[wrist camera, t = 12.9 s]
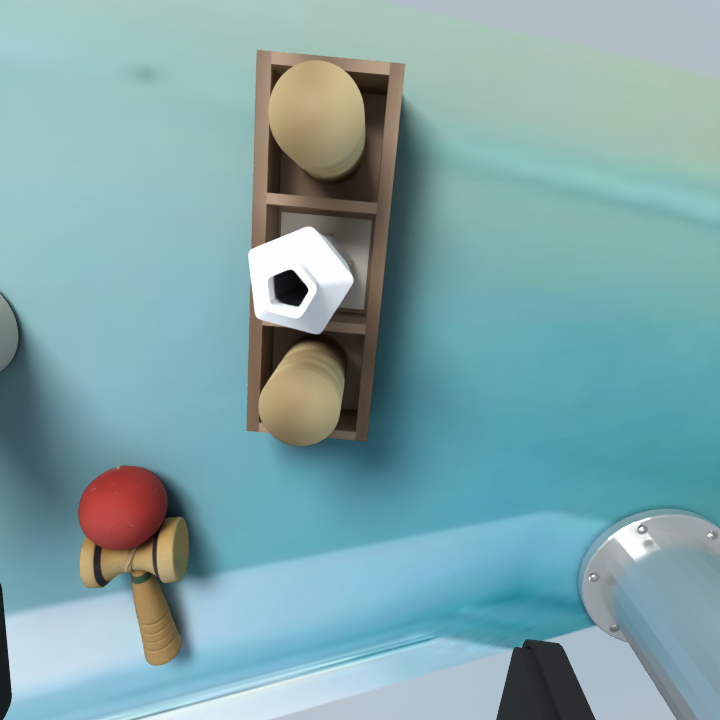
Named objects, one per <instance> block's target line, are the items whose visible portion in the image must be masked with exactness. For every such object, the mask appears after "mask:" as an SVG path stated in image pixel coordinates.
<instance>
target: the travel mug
mask: <svg viewBox="0 0 720 720" xmlns="http://www.w3.org/2000/svg"><path fill="white" fill-rule="evenodd" d="M17 345H18V327H17V323H16V319H15V316H14V314H13V312H12V310H11V308H10V306H9V305H8V303H7V301H6V300H5V299H4V298H3V296H2V295H1V294H0V371H1V370H3V369H4V368H5V367H6V366H7V365H8V364H9V363H10V362H11V360H12V359H13V357H14V355H15V352H16V349H17Z"/></svg>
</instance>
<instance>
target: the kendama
mask: <svg viewBox="0 0 720 720" xmlns="http://www.w3.org/2000/svg"><path fill="white" fill-rule="evenodd" d="M167 506H168V498H167V493H166V490H165V487H164V485H163V483H162V482H161V480H160V479H159V478H158V477H157V476H156V475H155V474H154V473H152V472H151V471H149V470H147V469H145V468H142V467H137V466H127V465H121V466H119V467H117V468H114V469H111V470H108V471H106V472H104V473H103V474H101V475H100V476H98V477H97V478H96V479H94V480H93V481H92V482H91V483H90V484H89V485H88V487H87V488H86V489H85V491H84V493H83V495H82V497H81V500H80V504H79V510H78V516H79V523H80V526H81V528H82V530H83V532H84V534H85V535H86V537H85V539H84V541H83V544H82V548H81V552H80V559H79V570H80V576H81V580H82V582H83V584H84V585H85V586H86V587H87V588H100V587H101V588H102V587H104V586H105V585H107V584H108V583H109V582H110V581H111V580H112V579H113V578H114V577H116V576H117V575H119V574H121V573H124V572H125V573H130V572H131V577H132V587H133V597H134V604H135V609H136V614H137V618H138V623H139V627H140V632H141V636H142V641H143V647H144V653H145V658H146V660H147V662H148V663H149V664H151V665H163V664H165V663H167V662H169V661H170V660H172V659H173V658H174V657H175V656H176V655H177V653H178V652H179V650H180V648H181V645H182V640H181V637H180V635H179V632H178V630H177V628H176V625H175V623H174V620H173V618H172V615H171V613H170V610H169V607H168V605H167V602H166V599H165V596H164V594H163V591H162V589H161V587H160V585H159V583H158V581H157V579H156V577H155V575H156V576H157V577H158V578H159V579H160V580H161V581H162V582H163V583H171V582H177V581H181V580H182V578H183V577H184V575H185V572H186V569H187V564H188V557H189V536H188V528H187V524H186V522H185V520H184V518H182V517H169V518H166V519H165V520H164V518H165V515H166V512H167Z"/></svg>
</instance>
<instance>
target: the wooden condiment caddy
mask: <svg viewBox="0 0 720 720" xmlns="http://www.w3.org/2000/svg"><path fill="white" fill-rule="evenodd" d="M404 71H405V64H401V63H391V62H380V61H369V60H359V59H348V58H337V57H327V56H316V55H305V54H295V53H284V52H273V51H263V50H257V62H256V99H255V136H254V174H253V211H252V248H251V250H252V249H253V248H256V247H258V246H261V245H263V244H265V243H268V242H270V241H273V240H275V239H278V238H280V237H283V236H285V235H288V234H290V233H293V232H295V231H297V230H300V229H302V228H305V227H312V228H314V229H315V230H316V231H317V232H319V233H320V234H321V235H323V236H324V235H327V234H333V235H334V236H335V237H336V239H337V240H338V241H339V242H340V244H341V245H342V246H343V247H344V249H345V250H346V251H347V252H348V254H349V255H350V256H351V257H352V259H353V260H354V264H353V266H352V268H351V269H350V272H351V274H352V276H353V284H352V286H351V287H350V289H349V291H348V292H347V294H346V295H345V297H344V298H343V300H342V301H341V303H340V305H339V306H338V308H337V309H336V311H335V312H334V314H333V316H332V317H331V319H330V320H329V322H328V323H327V325H326V326H325V328H324V330H323V331H322V332H321V333H320V334H312V333H309V332H305V331H301V330H297V329H293V328H290V327H286V326H282V325H278V324H274V323H271V322H267V321H263V320H260V319H258V318H257V317H256V315H255V310H254V301H253V292H252V283H251V285H250V322H249V359H248V396H247V431H255V432H266V433H270V434H271V435H272V436H274V437H275V438H276V439H278V440H280V441H281V442H284V443H286V444H290V445H294V446H308V445H313V444H315V443H318V442H320V441H322V440H323V439H325V438H333V439H344V440H355V441H366V442H367V438H368V428H369V418H370V408H371V398H372V388H373V378H374V368H375V358H376V348H377V338H378V329H379V319H380V309H381V299H382V289H383V279H384V269H385V259H386V249H387V239H388V229H389V220H390V210H391V200H392V190H393V180H394V170H395V160H396V150H397V140H398V130H399V120H400V111H401V101H402V91H403V81H404Z"/></svg>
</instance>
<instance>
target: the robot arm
mask: <svg viewBox="0 0 720 720" xmlns="http://www.w3.org/2000/svg"><path fill="white" fill-rule="evenodd" d="M578 589H579V595H580V598H581V600H582V603H583V605H584V607H585V609H586V611H587V612H588V614H589V616H590V617H591V619H592V620H593V621H594V622H595V623H596V625H597V626H598V627H599V628H600V629H602V630H603V631H604V632H606V633H607V634H609V635H610V636H613V637H615V638H617V639H619V640H622V641H625V642H628V643H629V644H630V646H631V647H632V649H633V650H634V652H635V654H636V655H637V657H638V659H639V660H640V662H641V663H642V665H643V666H644V668H645V670H646V671H647V673H648V675H649V676H650V678H651V679H652V681H653V682H654V684H655V686H656V687H657V689H658V690H659V692H660V694H661V695H662V697H663V698H664V700H665V702H666V703H667V705H668V706H669V708H670V710H671V711H672V713H673V714H674V716H675V717H676V719H677V720H720V528H719V527H717V526H716V525H715V524H714V523H712V522H711V521H710V520H708V519H706V518H704V517H702V516H700V515H698V514H696V513H692V512H689V511H685V510H678V509H656V510H649V511H645V512H641V513H637V514H634V515H632V516H630V517H627V518H625V519H622V520H621V521H619V522H617V523H616V524H614V525H612V526H611V527H609V528H608V529H607V530H606V531H605V532H603V533H602V534H601V535H600V536H599V537H598V538H597V539H596V540H595V541H594V543H593V544H592V545H591V546H590V547H589V549H588V551H587V553H586V554H585V556H584V558H583V560H582V563H581V567H580V570H579V576H578ZM11 699H12V692H11V681H10V670H9V659H8V648H7V637H6V626H5V615H4V605H3V594H2V587H1V584H0V720H3V719H4V717H5V715H6V713H7V711H8V709H9V706H10V703H11ZM496 720H595V717H594V715H593V713H592V711H591V708H590V706H589V704H588V702H587V700H586V697H585V695H584V693H583V691H582V689H581V686H580V684H579V682H578V680H577V677H576V675H575V673H574V671H573V668H572V666H571V664H570V662H569V660H568V657H567V655H566V653H565V651H564V649H563V647H562V646H561V645H560V644H559V643H552V642H545V641H537V640H528V639H526V640H525V642H524V644H523V646H522V648H519V647H515V648H514V650H513V653H512V657H511V661H510V665H509V670H508V674H507V678H506V682H505V686H504V690H503V694H502V699H501V702H500V707H499V711H498V715H497V719H496Z"/></svg>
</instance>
